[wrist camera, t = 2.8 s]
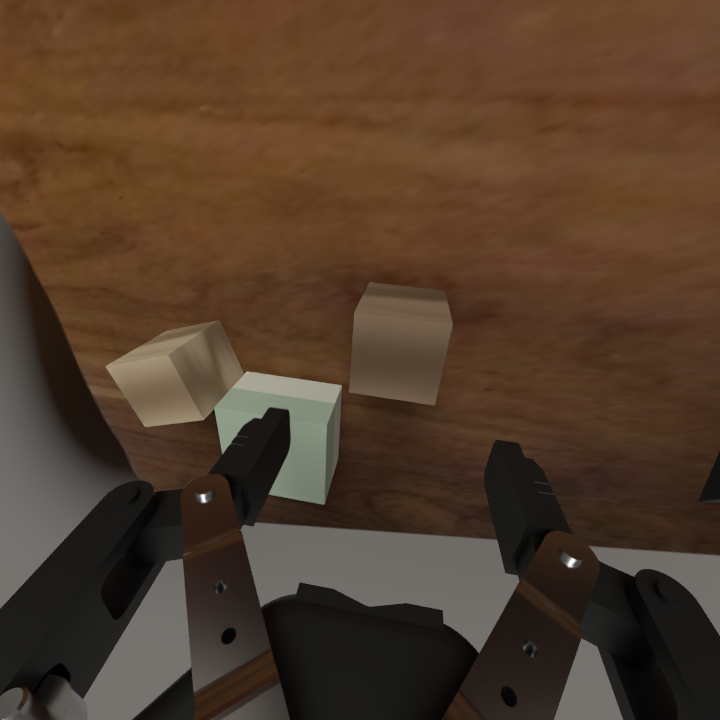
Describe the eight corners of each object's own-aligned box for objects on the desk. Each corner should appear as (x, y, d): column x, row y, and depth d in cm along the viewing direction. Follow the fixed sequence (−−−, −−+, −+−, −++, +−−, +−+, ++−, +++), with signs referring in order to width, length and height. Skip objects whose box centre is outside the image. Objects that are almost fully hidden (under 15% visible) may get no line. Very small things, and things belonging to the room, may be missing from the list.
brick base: (247, 371, 27) (214, 407, 23) (341, 385, 26) (326, 425, 22) (255, 444, 31) (228, 486, 27) (338, 458, 30) (324, 504, 26)
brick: (166, 330, 27) (105, 366, 21) (219, 319, 25) (167, 354, 20) (194, 382, 29) (145, 427, 23) (244, 375, 27) (203, 420, 22)
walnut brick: (369, 282, 22) (354, 312, 17) (444, 290, 22) (452, 324, 16) (364, 348, 25) (348, 392, 19) (431, 357, 24) (434, 405, 19)
